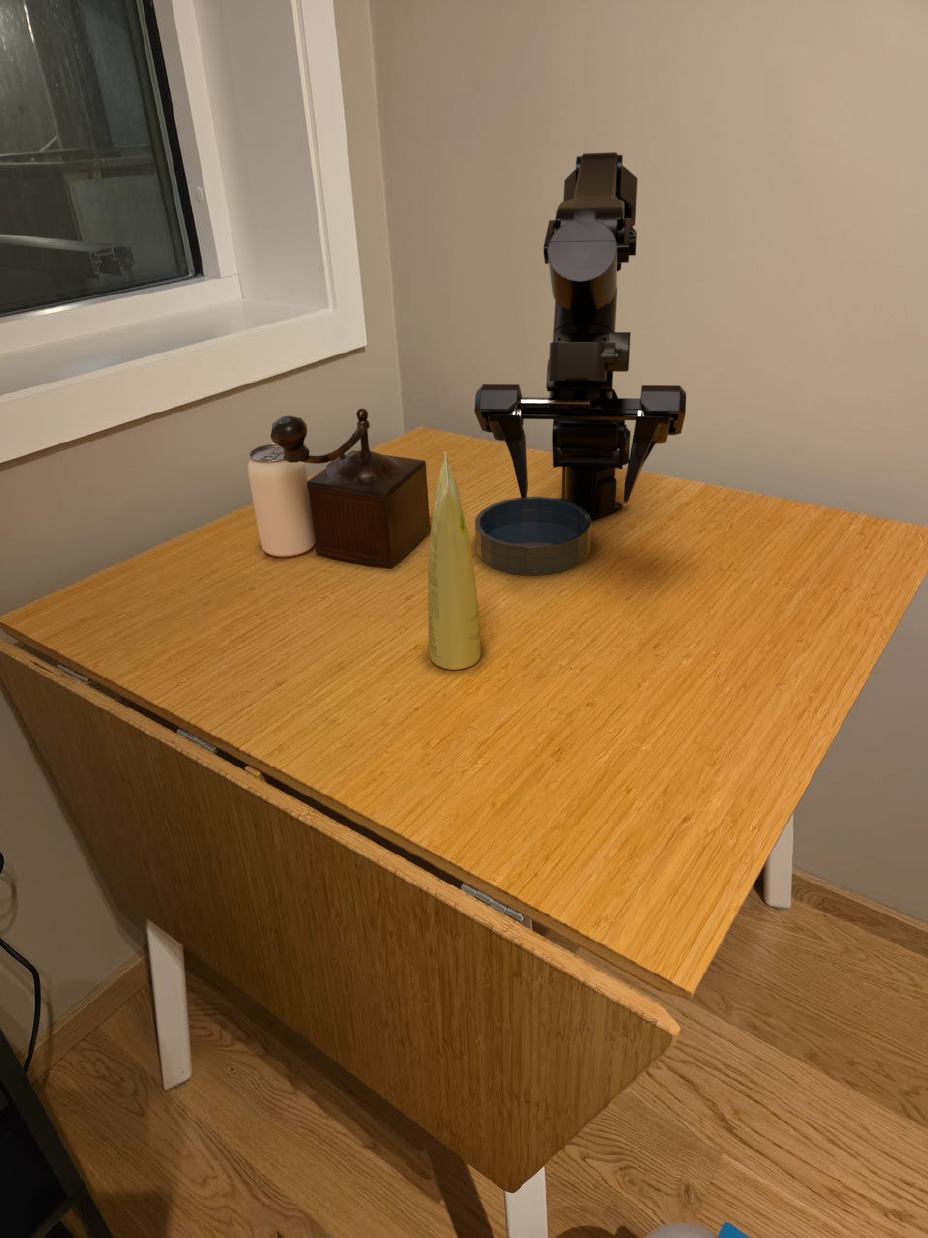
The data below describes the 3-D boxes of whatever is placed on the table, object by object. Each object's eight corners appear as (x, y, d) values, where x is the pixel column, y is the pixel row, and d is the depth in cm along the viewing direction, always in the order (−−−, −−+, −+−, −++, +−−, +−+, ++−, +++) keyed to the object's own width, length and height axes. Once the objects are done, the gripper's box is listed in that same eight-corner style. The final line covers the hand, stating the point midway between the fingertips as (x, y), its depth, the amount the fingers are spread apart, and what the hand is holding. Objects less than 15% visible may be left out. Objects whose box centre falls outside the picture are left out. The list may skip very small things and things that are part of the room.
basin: (454, 544, 107) (452, 517, 105) (540, 513, 113) (540, 487, 111) (523, 587, 97) (523, 558, 95) (614, 550, 103) (615, 523, 102)
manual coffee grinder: (354, 518, 114) (338, 377, 104) (433, 531, 110) (423, 385, 100) (285, 574, 102) (259, 421, 93) (370, 591, 98) (352, 433, 88)
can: (326, 539, 109) (314, 444, 103) (296, 562, 104) (281, 465, 98) (282, 531, 112) (267, 438, 105) (251, 553, 107) (233, 458, 100)
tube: (497, 658, 86) (491, 465, 76) (458, 681, 83) (447, 484, 73) (456, 636, 90) (445, 449, 79) (417, 657, 87) (401, 467, 76)
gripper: (471, 295, 77) (458, 471, 75) (695, 293, 74) (687, 477, 72) (488, 350, 88) (477, 506, 86) (684, 351, 85) (677, 512, 83)
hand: (574, 500), depth 82 cm, fingers open, 9 cm apart
